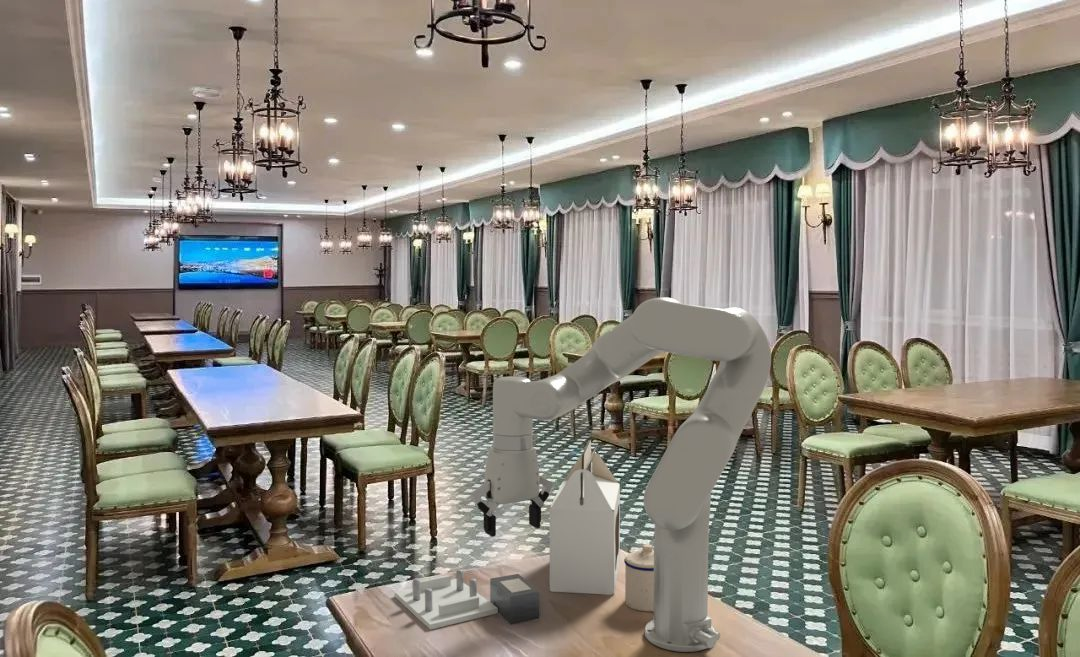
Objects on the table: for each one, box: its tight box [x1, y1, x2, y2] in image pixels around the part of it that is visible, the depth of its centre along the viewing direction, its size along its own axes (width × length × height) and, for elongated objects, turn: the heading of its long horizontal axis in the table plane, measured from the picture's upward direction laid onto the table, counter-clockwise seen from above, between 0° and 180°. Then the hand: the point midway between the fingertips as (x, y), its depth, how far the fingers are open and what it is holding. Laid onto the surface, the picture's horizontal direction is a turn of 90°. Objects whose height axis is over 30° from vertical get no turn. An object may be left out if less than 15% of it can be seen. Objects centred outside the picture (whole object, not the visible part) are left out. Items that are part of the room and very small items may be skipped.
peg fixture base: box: [394, 568, 499, 631], centre depth 157 cm, size 18×14×5 cm
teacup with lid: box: [623, 543, 654, 613], centre depth 159 cm, size 12×9×12 cm
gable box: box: [548, 439, 621, 596], centre depth 173 cm, size 22×13×28 cm, turn 171°
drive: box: [489, 573, 541, 626], centre depth 154 cm, size 10×6×6 cm, turn 25°
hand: (512, 530), depth 153 cm, fingers open, 9 cm apart
